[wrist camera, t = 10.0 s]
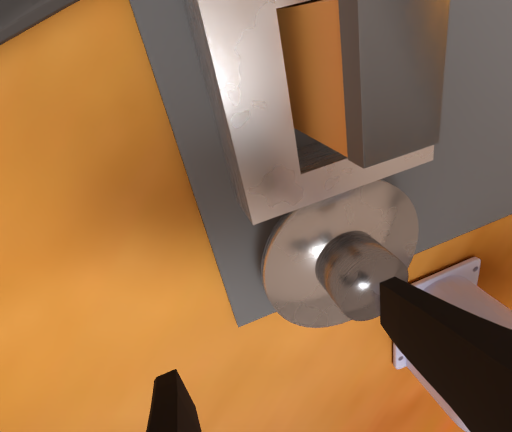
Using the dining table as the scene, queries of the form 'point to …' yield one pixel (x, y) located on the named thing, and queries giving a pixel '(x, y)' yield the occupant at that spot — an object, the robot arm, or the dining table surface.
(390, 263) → the scaffold node
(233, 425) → the dining table surface
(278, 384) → the dining table surface
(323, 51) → the orange grey two-tone block
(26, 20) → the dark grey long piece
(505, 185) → the site mat
